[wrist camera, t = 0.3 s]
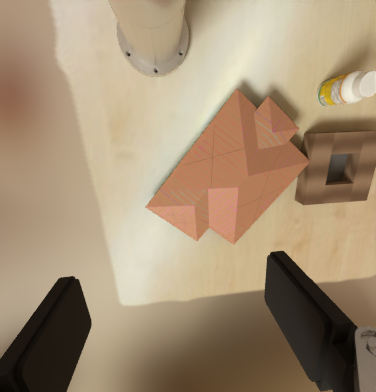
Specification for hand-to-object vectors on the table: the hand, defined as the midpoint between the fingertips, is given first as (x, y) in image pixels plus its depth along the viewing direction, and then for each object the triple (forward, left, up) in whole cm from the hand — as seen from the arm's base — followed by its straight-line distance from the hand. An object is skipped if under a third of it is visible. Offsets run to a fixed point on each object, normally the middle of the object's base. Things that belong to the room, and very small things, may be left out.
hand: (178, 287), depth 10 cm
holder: (+3, +39, -36) cm, 53 cm away
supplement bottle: (-13, +35, -36) cm, 52 cm away
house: (+4, +14, -37) cm, 39 cm away
